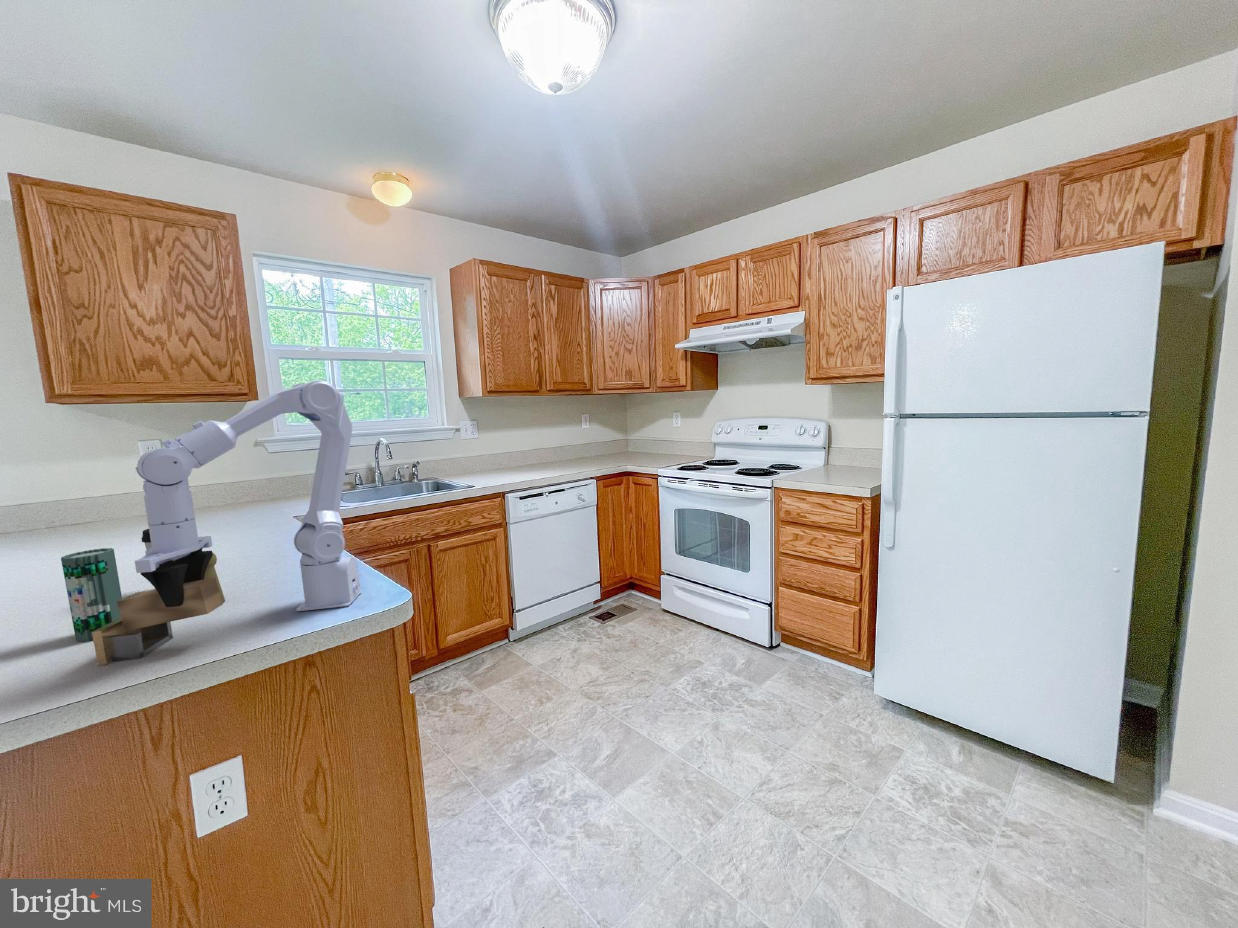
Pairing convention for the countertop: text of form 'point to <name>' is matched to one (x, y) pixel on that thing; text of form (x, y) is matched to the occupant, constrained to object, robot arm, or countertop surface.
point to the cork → (214, 574)
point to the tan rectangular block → (153, 611)
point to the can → (92, 590)
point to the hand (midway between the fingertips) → (184, 600)
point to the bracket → (128, 641)
